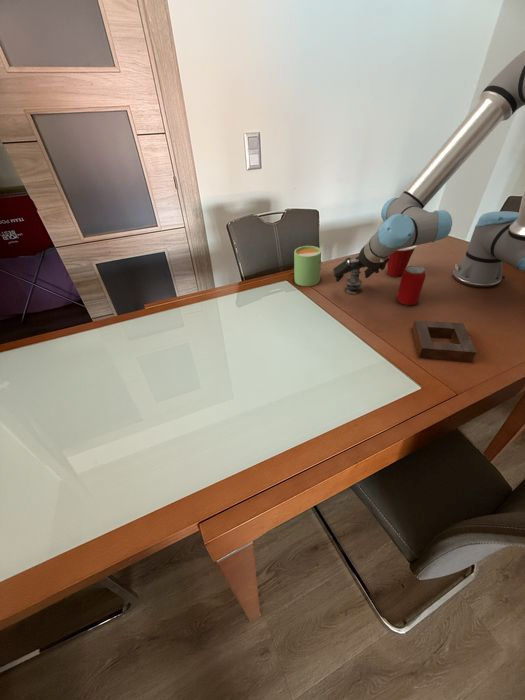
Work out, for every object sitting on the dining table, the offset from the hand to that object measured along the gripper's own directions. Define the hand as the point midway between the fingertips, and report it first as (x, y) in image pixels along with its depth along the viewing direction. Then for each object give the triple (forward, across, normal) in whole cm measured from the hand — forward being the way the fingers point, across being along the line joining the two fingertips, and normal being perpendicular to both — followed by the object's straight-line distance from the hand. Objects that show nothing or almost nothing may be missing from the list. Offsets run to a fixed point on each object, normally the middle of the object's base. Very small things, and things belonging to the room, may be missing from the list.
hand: (351, 276), depth 112 cm
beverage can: (-7, +15, -14) cm, 21 cm away
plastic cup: (+7, +20, +1) cm, 21 cm away
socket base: (-24, +13, -30) cm, 41 cm away
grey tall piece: (+1, 0, -5) cm, 5 cm away
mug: (+11, -14, +4) cm, 18 cm away
